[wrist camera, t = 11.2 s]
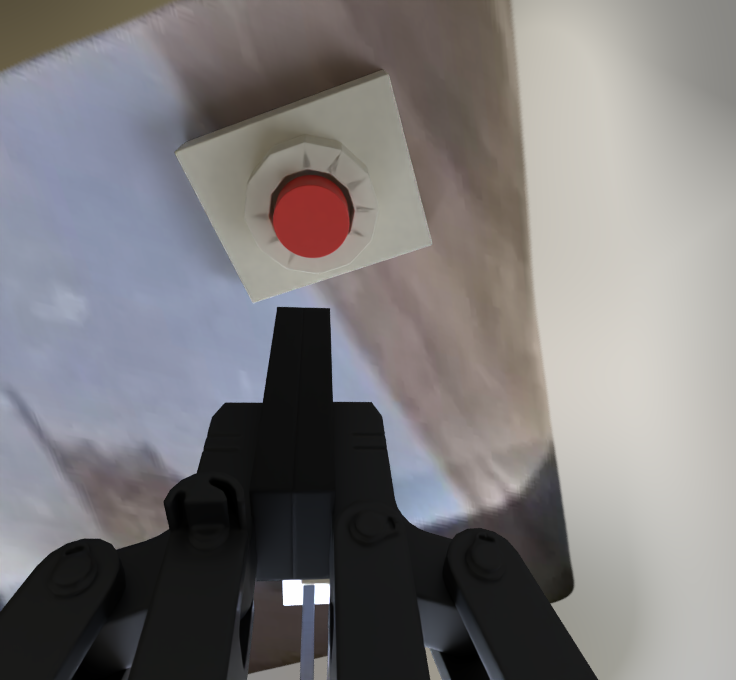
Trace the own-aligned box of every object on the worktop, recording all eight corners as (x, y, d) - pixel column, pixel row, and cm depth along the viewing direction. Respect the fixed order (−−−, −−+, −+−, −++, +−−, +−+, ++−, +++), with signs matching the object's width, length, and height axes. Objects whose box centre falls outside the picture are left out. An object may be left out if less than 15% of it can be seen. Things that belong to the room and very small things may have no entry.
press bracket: (281, 517, 43) (265, 717, 31) (383, 515, 44) (406, 709, 32) (284, 592, 50) (271, 783, 37) (372, 589, 50) (388, 774, 38)
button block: (383, 68, 25) (393, 76, 21) (426, 231, 29) (439, 258, 26) (183, 142, 26) (163, 160, 22) (256, 286, 31) (248, 319, 27)
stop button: (333, 164, 23) (334, 173, 22) (357, 232, 25) (359, 245, 24) (263, 188, 24) (259, 199, 22) (292, 253, 26) (290, 267, 24)
